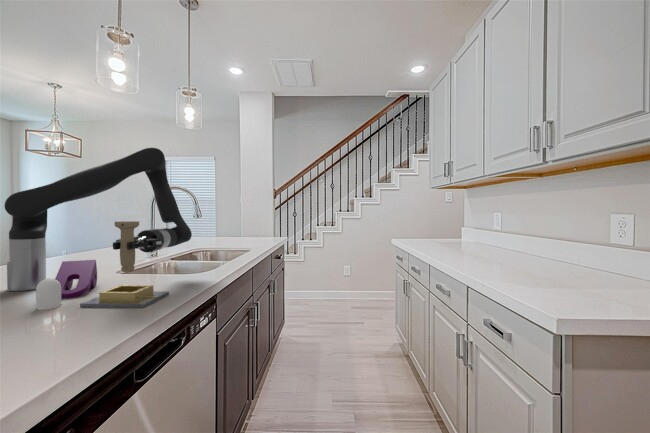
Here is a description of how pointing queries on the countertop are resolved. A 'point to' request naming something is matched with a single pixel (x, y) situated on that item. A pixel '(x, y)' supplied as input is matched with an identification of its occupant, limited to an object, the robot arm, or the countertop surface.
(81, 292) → the mounting bracket
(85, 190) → the robot arm
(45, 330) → the countertop surface
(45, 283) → the capsule
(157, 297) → the plate
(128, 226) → the handle
